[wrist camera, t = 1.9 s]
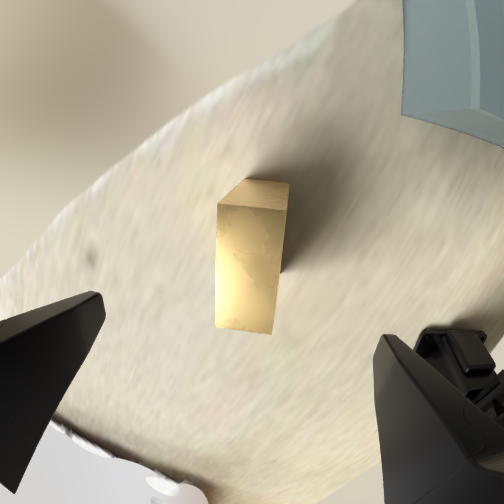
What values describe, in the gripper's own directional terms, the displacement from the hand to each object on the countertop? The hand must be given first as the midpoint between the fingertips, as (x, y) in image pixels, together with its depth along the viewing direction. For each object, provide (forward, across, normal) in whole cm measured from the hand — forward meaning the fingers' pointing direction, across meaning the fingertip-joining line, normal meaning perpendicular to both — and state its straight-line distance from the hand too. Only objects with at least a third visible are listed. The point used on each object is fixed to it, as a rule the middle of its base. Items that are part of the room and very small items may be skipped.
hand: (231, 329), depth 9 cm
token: (+10, 0, 0) cm, 10 cm away
